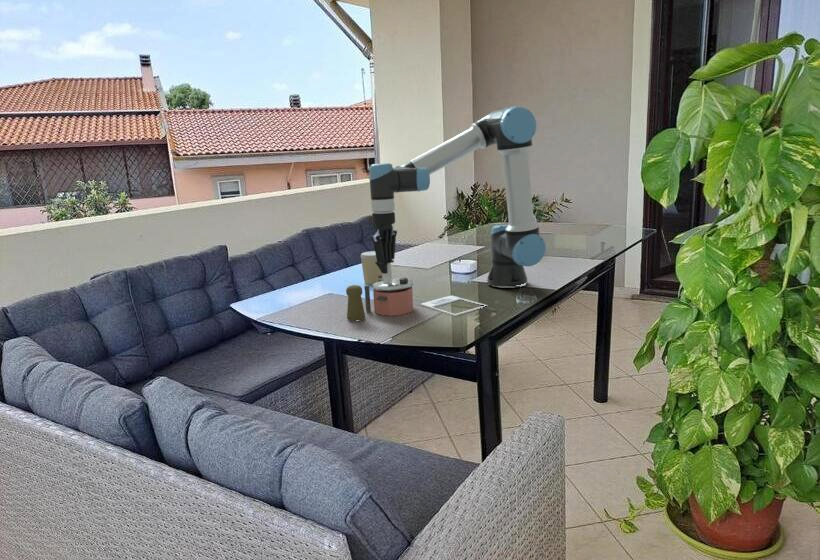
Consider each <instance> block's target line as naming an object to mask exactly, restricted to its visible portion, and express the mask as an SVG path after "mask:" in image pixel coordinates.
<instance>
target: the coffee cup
mask: <svg viewBox="0 0 820 560" xmlns="http://www.w3.org/2000/svg"><path fill="white" fill-rule="evenodd" d="M360 259H361V260H360V261H361V267H362V274H363V275H362V277H363V281H364V284H366V285H371V286H373V284H374V283H376V282H379V279H382V265H381V264H379V263H377V258H376V253H375V250H371V251H365V252H362V253H361V254H360Z"/></svg>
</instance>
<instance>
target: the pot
mask: <svg viewBox="0 0 820 560" xmlns="http://www.w3.org/2000/svg"><path fill="white" fill-rule="evenodd" d="M379 281H383V280H382V279H379ZM372 291H373V292H372V295H373V296H372V297H373V311H374V313H375V312H376V313H375V314H377V313H378V314H377V315H379V314H381V315H380V316H384V315H390V316H389V317H392V316H391V315H398V316H402V314H403V315H407V314H406V313H408V314H410V313H411V312H413V311H414V298H413V285H412V286H411V287H408V288H405V289H401V290H394V291H377V290H374V289H373V288H372ZM370 295H371V294H370V284H366V285H364V297H365V299H364V300H365V311H370V312H371V311H372V309H371V296H370ZM409 312H410V313H409Z"/></svg>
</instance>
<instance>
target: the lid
mask: <svg viewBox="0 0 820 560" xmlns="http://www.w3.org/2000/svg"><path fill="white" fill-rule="evenodd" d="M411 286H412V287H413V286H414V280H413V279H412V278H408V277H400V278H398V277H397V278H392V282H391V283H384V282H383V281H379V282H376V283H374V284H372V290H373V289H374V290H377V291H394V290H401V289H405V288H408V287H411Z"/></svg>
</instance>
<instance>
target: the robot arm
mask: <svg viewBox="0 0 820 560" xmlns="http://www.w3.org/2000/svg"><path fill="white" fill-rule="evenodd" d="M536 131H537V120H536V118H535V116H534V113H533V112H531V111H530V110H529V109H528V108H527V107H525V106H524V107H523V106H518V105H514V106H509V107H502V108H498V109H495V110H493V111H491V112H489V113H488V114H486V115H485V116H483V117H482V118H480V119H478V120H476V121H475V122H472V123H471V124H470V127H469V128H468V129H466V130H464V131H463V132H461V133H459V134H457V135H454V136H453V137H451V138H450V139H448V140H446V141H443V143H440V144H439V145H437V146H435V147H433V148H431V149H429V150H428V151H426V152H424V153H422V154H420V155H417V157H415V158H413V159H411V160H409V161H407V162H405V163H403V164H402V165H396V166H395V167H393V164H392V163H389V162H388V163H372V164H371V165H370V166H369V178H368V179H369V187H370V188H369V191H370V200H371V201H370V204H371V212H372V213H371V220H372V221H371V222H372V225H375V229H374V232H375V234H374V235H371V237H370V238H371V241H372V243H373V246H374V247H373V248H374V251H375V253H376V258H377V263H379V264H381V265H382V280H383V282H384V283H391V282H392V279H393V277H392V264H393V263H394V262H395V260H394V259H395V253H396V237H397V234H398V230H394V227H393V225H395V223H396V213H395V210H396V209H395V208H396V206H395V193H396V194H397V193H408V192H409V193H411V192H422V191H427V190H429V188H430V184H431V176H430V175H432V174H433V173H436V172H438V171H440V170H441V169H443V168H445V167H446V166H449V165H450V164H452V163H454V162H456V161H458V160H460V159H462V158H463V157H465V156H467V155H468V154H470V153H472V152H474V151H476V150H479V149H482V150H483V149H485V148H487V147H489V146H493V145H495V144H496V148H497V152H499V153H500V154H501V155H502V163H503V174H504V185H505V194H506V205H507V207H506V208H507V216H508V224H500V225H498V224H497V225H494V226H492V227H491V232H490V244H491V245H490V246H491V248H490V249H491V267H490V269H489V273H488V275H487V277H486V279H487V280H486V281H487V283H488V284H490V285H494V286H516V285H521V284H524V283H526V282H527V283H528V276H527V273H526V271H525V267H533V266H535V265H537V264H538V263H540V262H541V260H542V259H543V258H544V256H545V254H546V250H547V245H546V242H545V240H544V239H543V237H542V236H541V235H540V227H539V224H537V223H536V222H535V221H534V220H535V219H534V218H535V217H534V209H533V198H532V197H533V195H532V194H533V193H532V184H531V182H532V181H531V172H530V169H531V168H530V161H529V151H530V150H531V148H532V147H533V139H532V138H533V137H534V136H535V134H536ZM391 263H392V264H391Z"/></svg>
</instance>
